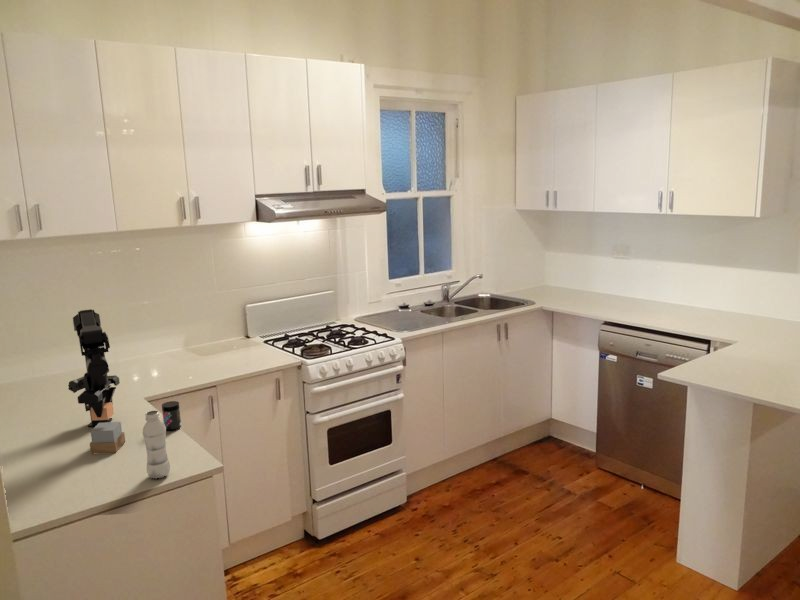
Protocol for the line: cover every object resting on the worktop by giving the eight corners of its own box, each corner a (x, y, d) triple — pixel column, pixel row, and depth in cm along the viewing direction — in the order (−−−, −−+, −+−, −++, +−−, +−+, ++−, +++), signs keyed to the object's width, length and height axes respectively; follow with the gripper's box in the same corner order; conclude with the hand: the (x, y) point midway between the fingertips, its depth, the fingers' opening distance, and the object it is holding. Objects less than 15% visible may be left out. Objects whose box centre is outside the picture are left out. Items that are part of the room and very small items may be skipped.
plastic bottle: (142, 479, 186) (134, 416, 182) (158, 469, 193) (151, 407, 188) (160, 483, 184) (152, 418, 180) (175, 472, 190) (168, 409, 186)
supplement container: (164, 426, 225) (161, 402, 223) (181, 424, 227) (179, 400, 225) (163, 432, 220) (160, 408, 218) (181, 430, 221) (178, 405, 219)
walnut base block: (101, 444, 212) (99, 433, 211) (125, 443, 213) (124, 432, 212) (91, 455, 204) (89, 443, 204) (116, 453, 205) (115, 442, 204)
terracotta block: (98, 414, 208) (96, 403, 207) (113, 413, 209) (112, 402, 208) (92, 420, 203) (90, 408, 203) (107, 419, 204) (106, 408, 203)
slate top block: (100, 434, 211) (98, 422, 210) (122, 432, 211) (120, 421, 210) (92, 443, 204) (90, 431, 203) (114, 441, 204) (113, 430, 204)
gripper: (83, 360, 211) (89, 404, 214) (57, 378, 193) (64, 426, 196) (117, 359, 212) (122, 403, 215) (94, 377, 194) (100, 425, 197)
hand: (102, 414), depth 206 cm, fingers closed on terracotta block, 5 cm apart
